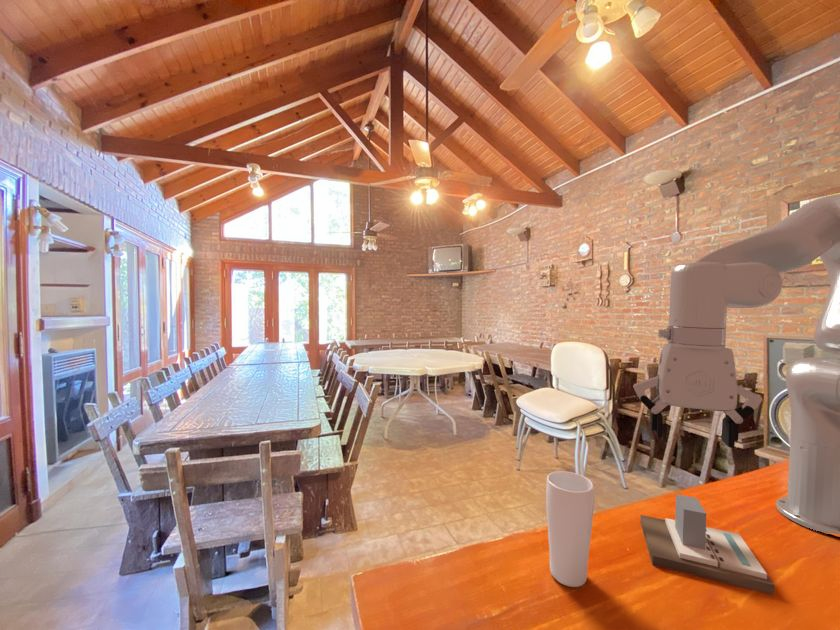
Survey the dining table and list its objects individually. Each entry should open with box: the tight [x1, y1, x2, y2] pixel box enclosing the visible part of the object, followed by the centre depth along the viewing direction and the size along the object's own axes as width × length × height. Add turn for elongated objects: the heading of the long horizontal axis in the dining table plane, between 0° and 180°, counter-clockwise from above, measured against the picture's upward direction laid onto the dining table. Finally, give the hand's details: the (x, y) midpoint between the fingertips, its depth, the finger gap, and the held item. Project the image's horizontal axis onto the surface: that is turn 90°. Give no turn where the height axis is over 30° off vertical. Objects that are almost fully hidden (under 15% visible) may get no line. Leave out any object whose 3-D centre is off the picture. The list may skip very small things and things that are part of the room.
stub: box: [664, 493, 718, 567], centre depth 61 cm, size 10×5×7 cm, turn 156°
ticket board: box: [639, 514, 776, 596], centre depth 60 cm, size 12×15×2 cm
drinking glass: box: [545, 470, 595, 588], centre depth 55 cm, size 7×7×15 cm
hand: (691, 439), depth 60 cm, fingers open, 9 cm apart
